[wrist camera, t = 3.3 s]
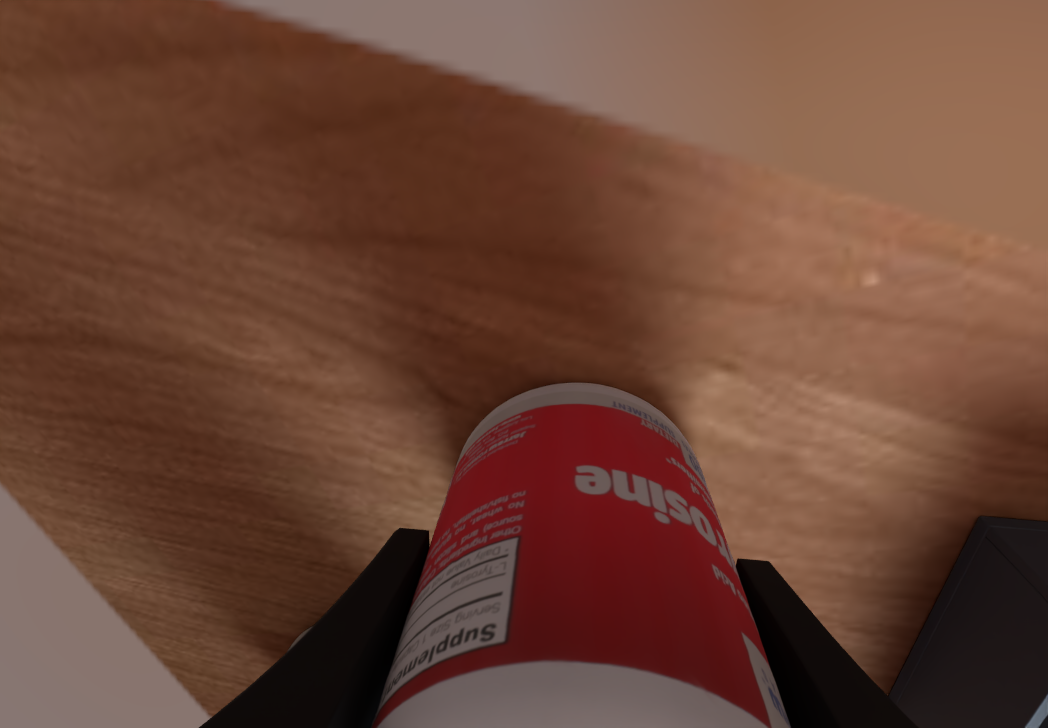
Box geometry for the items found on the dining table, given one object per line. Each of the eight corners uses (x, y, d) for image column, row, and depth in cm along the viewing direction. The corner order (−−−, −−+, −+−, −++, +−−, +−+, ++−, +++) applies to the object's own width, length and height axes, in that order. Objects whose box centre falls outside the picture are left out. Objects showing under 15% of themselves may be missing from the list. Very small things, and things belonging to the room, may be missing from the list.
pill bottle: (745, 496, 14) (1138, 1393, 4) (561, 600, 16) (545, 1374, 6) (593, 322, 13) (679, 1144, 3) (409, 461, 15) (70, 1225, 5)
